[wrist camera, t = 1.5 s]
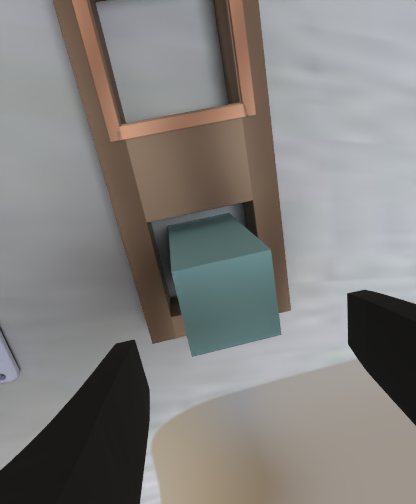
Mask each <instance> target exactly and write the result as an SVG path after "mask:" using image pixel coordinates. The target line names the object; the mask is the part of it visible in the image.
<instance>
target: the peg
mask: <svg viewBox="0 0 416 504" xmlns="http://www.w3.org/2000/svg"><path fill="white" fill-rule="evenodd" d="M168 230H169V244H170V259H171V273H172V277H173V281H174V285H175V289H176V293H177V297H178V301H179V305H180V310H181V314H182V318H183V322H184V326H185V330H186V334H187V338H188V342H189V346H190V351H191V355H192V357H193V356H197V355H201V354H205V353H209V352H213V351H217V350H221V349H226V348H230V347H234V346H238V345H242V344H246V343H250V342H254V341H258V340H262V339H266V338H270V337H274V336H278V335H281V328H280V319H279V311H278V303H277V295H276V287H275V278H274V270H273V262H272V254H271V249H270V248H269V247H267V246H266V245H265V244H264V243H263V242H262V241H261V240H259V239H258V238H257V237H256V236H255V235H254V234H253V233H251V232H250V231H249V230H248V229H247V228H246V227H245V226H243V225H242V224H241V223H240V222H239V221H238V220H237V219H235V218H234V217H233V216H232V215H231V214H230V213H227V214H222V215H218V216H213V217H208V218H204V219H199V220H194V221H190V222H185V223H180V224H176V225H171V226H168Z"/></svg>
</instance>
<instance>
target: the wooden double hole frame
mask: <svg viewBox="0 0 416 504" xmlns="http://www.w3.org/2000/svg"><path fill="white" fill-rule="evenodd" d="M98 1H104V0H53V3H54V6H55V10H56V13H57V17H58V20H59V23H60V27H61V30H62V34H63V37H64V41H65V44H66V48H67V51H68V54H69V58H70V61H71V65H72V68H73V72H74V75H75V78H76V82H77V85H78V89H79V92H80V96H81V99H82V102H83V106H84V109H85V113H86V116H87V120H88V123H89V127H90V130H91V133H92V137H93V140H94V144H95V147H96V151H97V154H98V157H99V161H100V164H101V168H102V171H103V175H104V178H105V181H106V185H107V188H108V192H109V195H110V199H111V202H112V206H113V209H114V212H115V216H116V219H117V223H118V226H119V230H120V233H121V236H122V240H123V243H124V247H125V250H126V254H127V257H128V260H129V264H130V267H131V271H132V274H133V278H134V281H135V285H136V288H137V291H138V295H139V298H140V302H141V305H142V309H143V312H144V315H145V319H146V322H147V326H148V329H149V333H150V336H151V339H152V343H153V344H154V343H158V342H162V341H166V340H170V339H175V338H179V337H183V336H187V334H186V330H185V326H184V322H183V318H182V314H181V310H180V305H179V301H178V297H176V298H172V299H170V296H169V292H168V288H167V284H166V280H165V276H164V272H163V268H162V264H161V260H160V256H159V252H158V248H157V244H156V241H155V237H154V233H153V229H152V225H151V222H152V221H157V220H162V219H166V218H171V217H176V216H181V215H185V214H190V213H195V212H200V211H204V210H209V209H214V208H219V207H223V206H228V205H233V204H237V203H242V202H243V205H244V212H245V219H246V226H247V229H248V230H249V231H250V232H251V233H253V234H254V235H255V236H256V237H257V238H258V239H259V240H261V241H262V242H263V243H264V244H265V245H266V246H267V247H269V248H270V249H271V254H272V262H273V270H274V278H275V287H276V295H277V303H278V311H279V313H282V312H286V311H290V310H291V306H290V297H289V287H288V278H287V268H286V259H285V249H284V240H283V230H282V221H281V211H280V202H279V192H278V183H277V173H276V164H275V154H274V145H273V135H272V126H271V116H270V107H269V97H268V88H267V78H266V69H265V59H264V50H263V41H262V31H261V22H260V12H259V3H258V0H214V6H215V13H216V20H217V27H218V33H219V40H220V47H221V54H222V61H223V68H224V75H225V81H226V88H227V95H228V102H229V105H223V106H218V107H213V108H207V109H202V110H196V111H191V112H186V113H180V114H175V115H170V116H164V117H159V118H153V119H148V120H143V121H137V122H132V123H126V122H125V118H124V114H123V110H122V106H121V102H120V98H119V94H118V90H117V87H116V83H115V79H114V75H113V71H112V67H111V63H110V59H109V55H108V51H107V47H106V43H105V39H104V35H103V31H102V27H101V23H100V19H99V15H98V11H97V8H96V4H95V2H98Z"/></svg>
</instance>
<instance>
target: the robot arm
mask: <svg viewBox="0 0 416 504" xmlns="http://www.w3.org/2000/svg"><path fill="white" fill-rule="evenodd" d="M347 302H348V345H349V346H350V348H351V349H352V351H353V352H354V354H355V355H356V357H357V358H358V360H359V361H360V362H361V364H362V365H363V367H364V368H365V369H366V371H367V372H368V373H369V374H370V375H371V376H372V378H373V379H374V380H375V381H376V382H377V383H378V384H379V385H380V387H382V389H383V390H384V391H385V392H386V393H387V394H388V395H389V397H390V398H391V399H392V400H393V401H394V402H395V403H396V404H397V405H398V407H399V408H400V409H401V410H402V411H403V412H404V413H405V414H406V415H407V416H408V418H410V420H411V421H412V422H413V423H414V424H415V425H416V304H414V303H411V302H407V301H404V300H401V299H398V298H394V297H391V296H388V295H384V294H381V293H377V292H373V291H368V290H361V291H357V292H352V293H347ZM19 373H20V371H19V368H18V366H17V364H16V362H15V360H14V358H13V356H12V354H11V352H10V350H9V348H8V346H7V344H6V342H5V339H4V337H3V335H2V333H1V331H0V384H1V383H5V382H9V381H13V380H15V379H16V378H17V377H18V375H19ZM1 374H4V375H5V376H2V375H1ZM149 421H150V389H149V386H148V383H147V379H146V376H145V372H144V369H143V366H142V362H141V359H140V356H139V352H138V349H137V345H136V342H135V340H130V341H126V342H121V343H116V344H115V345H114V346H113V348H112V349H111V350H110V351H109V353H108V354H107V355H106V356H105V358H104V359H103V360H102V362H101V363H100V364H99V365H98V367H97V368H96V369H95V371H94V372H93V373H92V374H91V375H90V377H89V378H88V379H87V380H86V382H85V383H84V384H83V385H82V387H81V388H80V389H79V390H78V391H77V393H76V394H75V395H74V396H73V397H72V398H71V399H70V401H69V402H68V403H67V404H66V405H65V406H64V407H63V408H62V410H61V411H60V412H59V413H58V414H57V415H56V416H55V418H54V419H53V420H52V421H51V422H50V423H49V424H48V425H47V426H46V427H45V428H44V429H43V430H42V431H41V432H40V433H39V434H38V435H37V436H36V437H35V438H34V439H33V440H32V441H31V442H30V443H29V444H28V445H27V446H26V447H25V448H24V449H23V450H22V451H21V452H20V453H19V454H18V455H17V456H16V457H15V458H14V459H13V460H12V461H10V462H9V463H8V464H7V465H6V466H5V467H4V468H3V469H1V470H0V504H140V497H141V489H142V481H143V472H144V464H145V456H146V448H147V439H148V430H149Z"/></svg>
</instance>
